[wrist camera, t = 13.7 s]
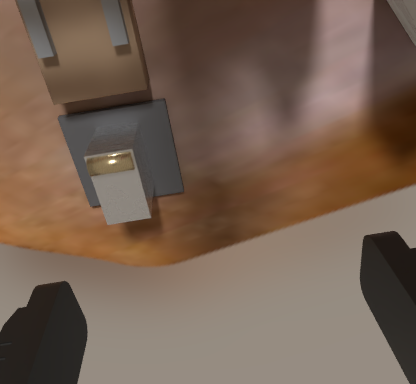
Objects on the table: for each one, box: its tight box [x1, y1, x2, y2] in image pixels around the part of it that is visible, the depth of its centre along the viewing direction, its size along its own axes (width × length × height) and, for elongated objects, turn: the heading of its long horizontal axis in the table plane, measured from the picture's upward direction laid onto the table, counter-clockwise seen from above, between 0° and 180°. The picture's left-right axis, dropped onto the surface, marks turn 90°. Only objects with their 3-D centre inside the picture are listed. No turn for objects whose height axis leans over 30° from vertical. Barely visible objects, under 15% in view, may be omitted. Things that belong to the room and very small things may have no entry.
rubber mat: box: [58, 99, 184, 207], centre depth 39 cm, size 10×10×1 cm
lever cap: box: [84, 121, 154, 225], centre depth 36 cm, size 7×4×7 cm, turn 8°
